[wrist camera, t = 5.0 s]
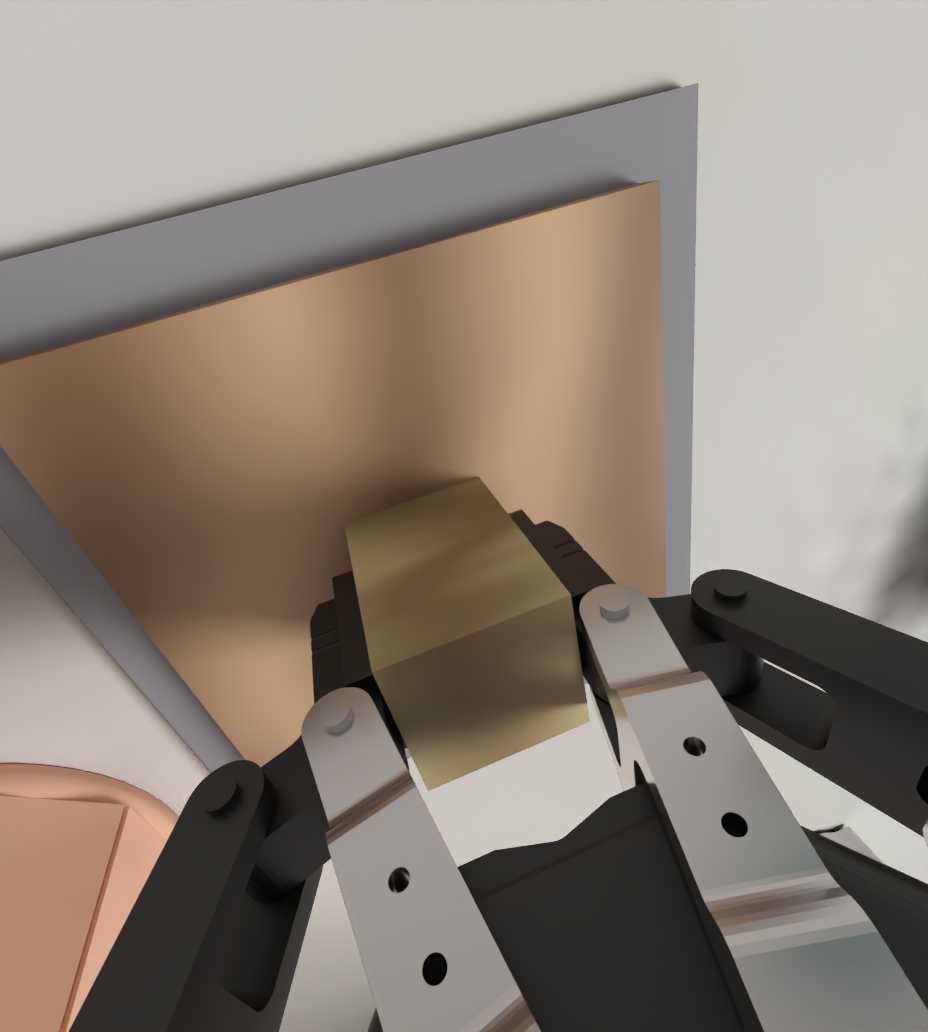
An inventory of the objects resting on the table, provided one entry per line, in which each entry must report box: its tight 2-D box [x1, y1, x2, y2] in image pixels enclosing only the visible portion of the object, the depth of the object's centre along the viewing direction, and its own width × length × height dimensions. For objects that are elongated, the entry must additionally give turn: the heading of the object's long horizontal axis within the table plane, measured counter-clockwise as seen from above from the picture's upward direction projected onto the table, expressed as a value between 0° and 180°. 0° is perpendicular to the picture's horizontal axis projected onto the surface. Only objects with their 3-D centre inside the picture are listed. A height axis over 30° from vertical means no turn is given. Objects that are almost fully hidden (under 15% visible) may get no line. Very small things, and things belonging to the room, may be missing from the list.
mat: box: [0, 83, 698, 772], centre depth 14 cm, size 17×17×1 cm
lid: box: [0, 180, 666, 791], centre depth 12 cm, size 14×14×6 cm
